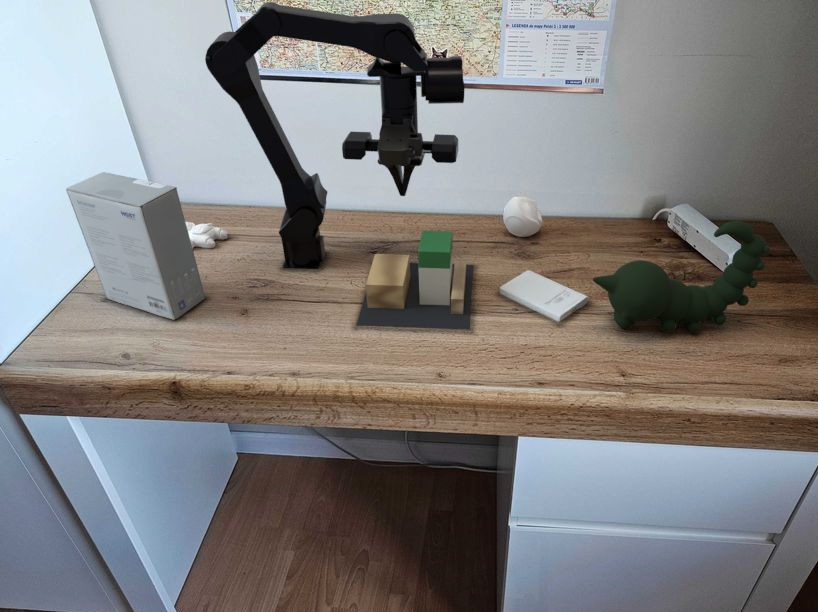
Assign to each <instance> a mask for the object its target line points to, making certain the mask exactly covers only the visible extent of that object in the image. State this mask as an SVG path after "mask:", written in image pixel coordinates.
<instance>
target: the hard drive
mask: <svg viewBox="0 0 818 612" xmlns="http://www.w3.org/2000/svg"><path fill="white" fill-rule="evenodd" d="M498 290H499V291H498V293H499V295H501V296H503V297H505V298H508V299H509V300H511V301H514V302H516V303H518V304H519V305H522V306H524V307H527V308H529V309H530V310H532V311H535V312H536V313H539V314H541V315H543V316H545V317H547V318H550V319H551V320H554V321H555V322H558V323H560V322H561V321H563V320H564V319H565V318H567V317H568V316H570V315H571V314H573V313H574V312H575V311H576V310H578V309H579V310H581V308H583V307H584V306H585V305H587V303H588V300H589V296H588V295H585V294H583V293H582V292H581V293H580V292H579V291H576V290H574V289H572V288H570V287H567V286H565V285H564V284H561V283H558V282H556V281H554V280H553V279H550V278H547V277H546V276H543V275H541V274H539V273H537V272H534V271H532V270H529V269H528V270H525V271H523V272H522V273H520V274H519V275H517V276H516V277H514V278H512V279H510V280H509V281H507V282H506V283H504V284H503V285H501V286H500V287H499V289H498Z"/></svg>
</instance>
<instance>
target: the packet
mask: <svg viewBox="0 0 818 612" xmlns="http://www.w3.org/2000/svg"><path fill="white" fill-rule="evenodd" d="M453 238H454V237H453V230H452V231H451V230H450V231H449V230H448V231H446V230H422V231H421V235H420V240H419V245H418V251H417V261H418V262H417V263H419V296H420V304H422V305H450V299H451V290H452V264H453Z"/></svg>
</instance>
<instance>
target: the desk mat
mask: <svg viewBox="0 0 818 612" xmlns="http://www.w3.org/2000/svg"><path fill="white" fill-rule="evenodd" d="M454 265H455V263H454V264H453V263H452V284H453V275H454ZM473 282H474V264H466V284H465V297H464V310H463V315H462V314H451V299H450V305H422V304H420V296H419V263H418V262H410V282H409V287H408V292H407V297H406V302H405V307H404V309H389V308H368V305H367V293H366V292H365V294H364V297H363V301H362V304H361V308H360V310H359V314H358V317H357V320H356V321H357V322H356V324H355V325H356V326H358V327H360V326H361V327H383V328H384V327H387V328H388V327H389V328H411V329H412V328H413V329H414V328H415V329H442V330H443V329H444V330H467V331H468V330H469V331H470V329H471V313H472V299H473V298H472V297H473ZM451 293H452V290H451Z"/></svg>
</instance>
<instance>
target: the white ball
mask: <svg viewBox="0 0 818 612" xmlns="http://www.w3.org/2000/svg"><path fill="white" fill-rule="evenodd" d="M537 205H538V201H537V200H534V199H532V198H528V197H525V196H518V195H516V196H514V197H512V198H511V199H510V200H508V202H507V203H506V204H505V206H504V208H503V214H502V220H503V223H504V226H505V228H506V230H507V231H508V232H509V233H510V234H512V235H514V236H515V237H519V238H520V237H521V238H526V237H530V236H533V235H534V234H536V233H538V232H539V231H540V229H541V227H542V226H543V224H544V221H543V217H542V213H541V212H540V210H539V208H538V207H537Z"/></svg>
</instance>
